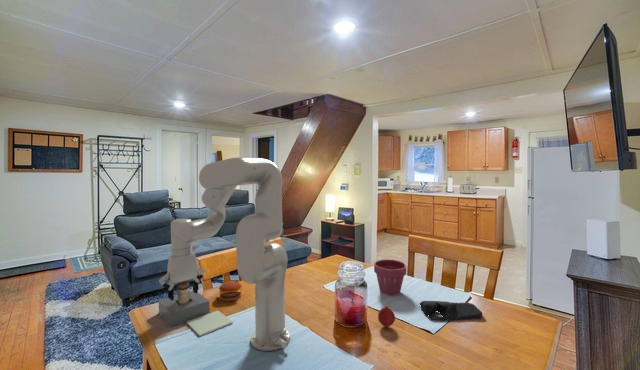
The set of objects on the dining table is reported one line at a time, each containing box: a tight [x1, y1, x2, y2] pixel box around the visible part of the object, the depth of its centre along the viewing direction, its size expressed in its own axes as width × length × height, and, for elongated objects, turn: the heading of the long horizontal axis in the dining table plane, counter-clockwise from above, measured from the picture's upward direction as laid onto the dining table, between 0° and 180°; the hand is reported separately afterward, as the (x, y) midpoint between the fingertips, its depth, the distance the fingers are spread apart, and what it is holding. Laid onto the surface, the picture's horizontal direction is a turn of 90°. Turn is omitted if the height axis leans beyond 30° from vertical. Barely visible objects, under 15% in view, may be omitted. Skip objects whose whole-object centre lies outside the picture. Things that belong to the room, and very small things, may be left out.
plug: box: [176, 280, 190, 305], centre depth 114 cm, size 4×4×12 cm
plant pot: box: [373, 259, 407, 296], centre depth 134 cm, size 14×14×13 cm
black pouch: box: [419, 300, 483, 321], centre depth 116 cm, size 15×22×5 cm
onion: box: [377, 304, 396, 328], centre depth 104 cm, size 6×6×8 cm
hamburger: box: [218, 280, 243, 303], centre depth 129 cm, size 9×10×7 cm
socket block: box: [158, 290, 210, 328], centre depth 114 cm, size 14×14×5 cm
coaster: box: [185, 310, 234, 337], centre depth 107 cm, size 12×12×1 cm
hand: (183, 295), depth 114 cm, fingers open, 8 cm apart
